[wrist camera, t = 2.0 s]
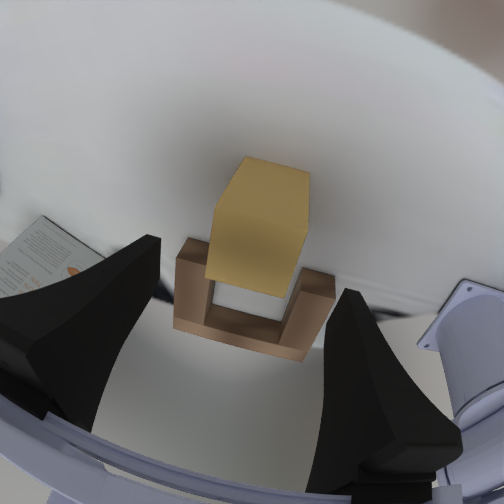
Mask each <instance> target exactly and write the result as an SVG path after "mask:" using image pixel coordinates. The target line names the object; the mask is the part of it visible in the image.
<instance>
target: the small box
mask: <svg viewBox="0 0 504 504" xmlns="http://www.w3.org/2000/svg"><path fill="white" fill-rule="evenodd" d="M104 259H105V258H103V257H101V256H100V255H98V254H97V253H95V252H94V251H92V250H91V249H89V248H88V247H86V246H85V245H83V244H82V243H80V242H79V241H77V240H76V239H74V238H73V237H71V236H70V235H69V234H67V233H66V232H64V231H63V230H61V229H60V228H59V227H57V226H56V225H54V224H53V223H52V222H50V221H49V220H47V219H46V218H45V217H43V216H41V217H40V218H39V219H38V220H37V221H36V222H34V223H33V224H32V225H31V226H30V227H29V228H28V229H26V230H25V231H24V232H23V233H22V234H21V235H20V236H18V237H17V238H16V239H15V240H14V241H13V242H12V243H11V244H10V245H9V246H8V247H6V248H5V249H4V250H3V251H2V252H1V253H0V298H3V297H9V296H14V295H18V294H22V293H26V292H29V291H33V290H36V289H39V288H42V287H45V286H48V285H51V284H53V283H56V282H59V281H62V280H64V279H66V278H69V277H71V276H73V275H75V274H78V273H80V272H82V271H84V270H86V269H88V268H90V267H91V266H93V265H95V264H97V263H99V262H101V261H102V260H104Z"/></svg>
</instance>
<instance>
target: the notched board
mask: <svg viewBox="0 0 504 504" xmlns="http://www.w3.org/2000/svg"><path fill="white" fill-rule="evenodd" d="M209 244H210V243H206V242H202V241H198V240H195V239H191V238H188V239H187V241H186V242H185V244H184V245H183V247H182V249H181V250H180V252H179V254H178V255H177V257H176V269H175V289H174V318H173V328H174V329H177V330H181V331H183V332H187V333H191V334H194V335H197V336H200V337H204V338H207V339H211V340H214V341H218V342H222V343H225V344H229V345H233V346H236V347H240V348H244V349H248V350H252V351H256V352H260V353H264V354H268V355H272V356H277V357H282V358H285V359H290V360H294V361H299V362H303V360H304V358H305V357H306V355H307V353H308V351H309V349H310V348H311V346H312V344H313V342H314V340H315V338H316V337H317V335H318V333H319V331H320V329H321V327H322V325H323V323H324V321H325V320H326V318H327V316H328V314H329V312H330V310H331V308H332V306H333V304H334V302H335V300H336V293H335V276H332V275H328V274H324V273H320V272H317V271H313V270H309V269H305V268H302V269H301V272H300V275H299V277H298V280H297V283H296V285H295V288H294V291H293V293H292V296H291V298H290V301H289V304H288V306H287V309H286V311H285V314H284V316H283V319H282V321H281V322H278V321H274V320H270V319H266V318H262V317H258V316H254V315H251V314H247V313H243V312H239V311H235V310H232V309H228V308H224V307H221V306H217V305H213V304H212V298H213V292H214V286H215V280H211V279H208V278H205V272H206V265H207V258H208V251H209Z"/></svg>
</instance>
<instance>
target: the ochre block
mask: <svg viewBox="0 0 504 504" xmlns="http://www.w3.org/2000/svg"><path fill="white" fill-rule="evenodd" d="M309 175H310V173H309V172H305V171H302V170H298V169H294V168H291V167H287V166H283V165H279V164H275V163H271V162H267V161H263V160H259V159H255V158H251V157H247V156H246V157H245V158H244V160H243V161H242V163H241V165H240V166H239V168H238V169H237V171H236V173H235V174H234V176H233V178H232V179H231V181H230V183H229V184H228V186H227V187H226V189H225V191H224V192H223V194H222V196H221V197H220V199H219V201H218V202H217V204H216V206H215V210H214V217H213V223H212V230H211V237H210V244H209V251H208V258H207V265H206V272H205V278H208V279H211V280H215V281H219V282H222V283H226V284H230V285H234V286H237V287H241V288H245V289H249V290H253V291H256V292H260V293H264V294H268V295H272V296H276V297H280V298H284V297H285V294H286V292H287V289H288V286H289V284H290V281H291V278H292V275H293V272H294V270H295V267H296V264H297V261H298V258H299V255H300V253H301V250H302V247H303V244H304V241H305V238H306V235H307V232H308V219H309Z"/></svg>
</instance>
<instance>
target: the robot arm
mask: <svg viewBox="0 0 504 504" xmlns="http://www.w3.org/2000/svg"><path fill="white" fill-rule="evenodd" d="M160 254H161V238H159V237H155V236H152V235H148V234H146V235H145V236H143V237H141V238H139V239H138V240H136V241H134V242H133V243H131V244H130V245H128V246H126V247H125V248H123V249H121V250H120V251H118V252H116V253H115V254H113V255H111V256H110V257H108V258H106V259H104V260H102V261H101V262H99V263H97V264H95V265H93V266H91V267H90V268H88V269H86V270H84V271H82V272H80V273H78V274H75V275H73V276H71V277H69V278H66V279H64V280H62V281H59V282H56V283H53V284H51V285H48V286H45V287H42V288H39V289H36V290H33V291H29V292H26V293H22V294H18V295H14V296H9V297H3V298H0V455H1V456H2V457H3V458H5V459H6V460H8V461H9V462H10V463H12V464H13V465H14V466H16V467H17V468H19V469H20V470H22V471H23V472H25V473H26V474H28V475H29V476H31V477H32V478H34V479H36V480H37V481H39V482H40V483H42V484H44V485H45V486H47V487H49V488H50V489H52V492H51V494H50V496H49V499H48V501H47V503H46V504H208V503H204V502H201V501H197V500H193V499H190V498H186V497H182V496H179V495H175V494H172V493H169V492H166V491H162V490H159V489H156V488H153V487H151V486H148V485H145V484H142V483H140V482H137V481H134V480H131V479H128V478H125V477H123V476H118V475H115V474H112V473H110V472H108V471H107V470H106V469H105V468H104V465H103V463H101V462H99V461H97V460H100V461H102V462H104V463H106V464H109V465H111V466H113V467H116V468H118V469H120V470H123V471H125V472H128V473H131V474H133V475H136V476H138V477H141V478H144V479H146V480H149V481H152V482H155V483H158V484H161V485H164V486H167V487H170V488H174V489H177V490H180V491H184V492H187V493H191V494H194V495H198V496H202V497H206V498H210V499H214V500H219V501H223V502H228V503H232V504H504V488H502V489H499V490H495V489H497V488H500V487H502V486H504V292H502V291H499V290H496V289H493V288H489V287H486V286H483V285H480V284H477V283H474V282H471V281H468V280H464V281H462V282H461V283H460V284H459V285H458V287H457V288H456V290H455V291H454V293H453V294H452V296H451V297H450V299H449V300H448V302H447V303H446V304H445V306H444V307H443V309H442V310H441V311H440V313H439V314H438V316H437V317H436V318H435V320H434V321H433V322H432V324H431V325H430V326H429V328H428V329H427V330H426V332H425V333H424V334H423V336H422V337H421V338H420V339H419V341H418V342H417V346H418V348H421V349H426V350H432V351H438V352H440V356H441V360H442V364H443V368H444V372H445V377H446V381H447V385H448V390H449V395H450V399H451V405H452V410H453V416H454V419H453V420H449V419H448V418H447V417H446V416H445V415H444V414H442V412H441V411H440V410H439V409H437V407H436V406H435V405H434V404H433V403H432V402H431V401H430V400H429V399H428V398H427V397H426V396H425V395H424V394H423V392H422V391H421V390H420V389H419V387H418V386H417V385H416V384H415V383H414V382H413V380H412V379H411V378H410V376H409V375H408V374H407V372H406V371H405V369H404V368H403V366H402V365H401V364H400V362H399V361H398V359H397V358H396V356H395V355H394V353H393V351H392V350H391V348H390V346H389V345H388V343H387V341H386V340H385V338H384V336H383V334H382V333H381V331H380V329H379V327H378V325H377V323H376V322H375V320H374V318H373V316H372V314H371V312H370V310H369V308H368V306H367V304H366V302H365V300H364V299H363V297H362V295H361V293H360V292H359V291H355V290H351V289H348V288H345V289H344V291H343V293H342V295H341V297H340V299H339V301H338V303H337V305H336V307H335V308H334V310H333V312H332V314H331V316H330V318H329V320H328V321H327V323H326V331H325V340H324V399H323V410H322V417H321V424H320V430H319V436H318V442H317V447H316V452H315V456H314V460H313V465H312V469H311V473H310V476H309V480H308V484H307V488H306V491H305V493H302V492H294V491H286V490H279V489H272V488H266V487H260V486H254V485H249V484H244V483H239V482H233V481H230V480H225V479H221V478H217V477H212V476H209V475H205V474H201V473H197V472H194V471H190V470H187V469H183V468H180V467H177V466H173V465H170V464H167V463H164V462H161V461H158V460H155V459H153V458H150V457H147V456H144V455H141V454H139V453H136V452H134V451H131V450H128V449H126V448H123V447H121V446H119V445H116V444H114V443H111V442H109V441H107V440H104V439H102V438H100V437H98V436H96V435H94V434H91V430H92V426H93V423H94V420H95V416H96V413H97V409H98V406H99V403H100V400H101V397H102V394H103V391H104V389H105V386H106V383H107V381H108V378H109V375H110V373H111V370H112V368H113V366H114V363H115V361H116V359H117V356H118V354H119V352H120V350H121V348H122V345H123V344H124V342H125V340H126V338H127V337H128V335H129V333H130V332H131V330H132V328H133V327H134V325H135V323H136V322H137V320H138V319H139V317H140V315H141V314H142V312H143V310H144V308H145V307H146V305H147V304H148V302H149V301H150V299H151V297H152V294H153V292H154V290H155V288H156V286H157V283H158V281H159V279H160ZM468 287H470V288H468ZM467 288H468V289H467ZM90 456H91V457H90ZM92 457H93V458H92ZM94 458H95V459H94ZM96 459H97V460H96ZM436 477H437V481H438V484H439V487H436V488H432V482H433V481H435V480H436ZM493 490H495V491H493Z"/></svg>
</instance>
